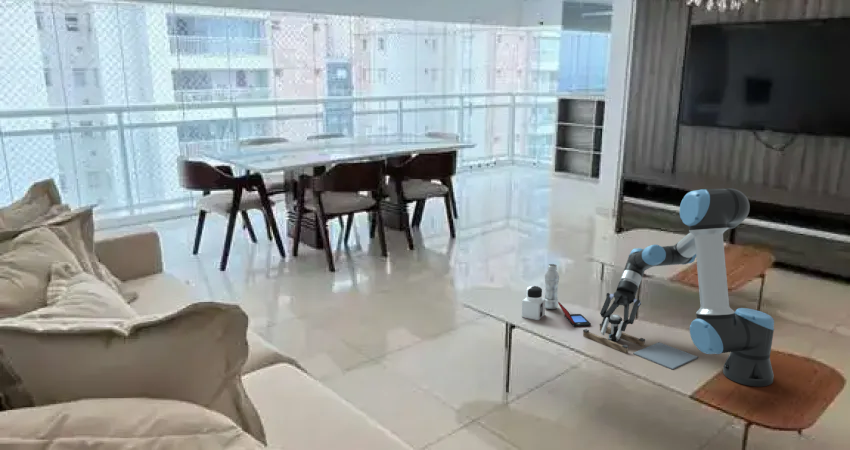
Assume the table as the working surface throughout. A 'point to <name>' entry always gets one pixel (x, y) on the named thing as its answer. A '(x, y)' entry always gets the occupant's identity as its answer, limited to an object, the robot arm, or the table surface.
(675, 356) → the slate mat
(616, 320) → the push button
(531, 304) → the container
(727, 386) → the table surface
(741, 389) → the table surface
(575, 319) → the handheld game console
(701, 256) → the robot arm
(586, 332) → the rails
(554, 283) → the plastic bottle
